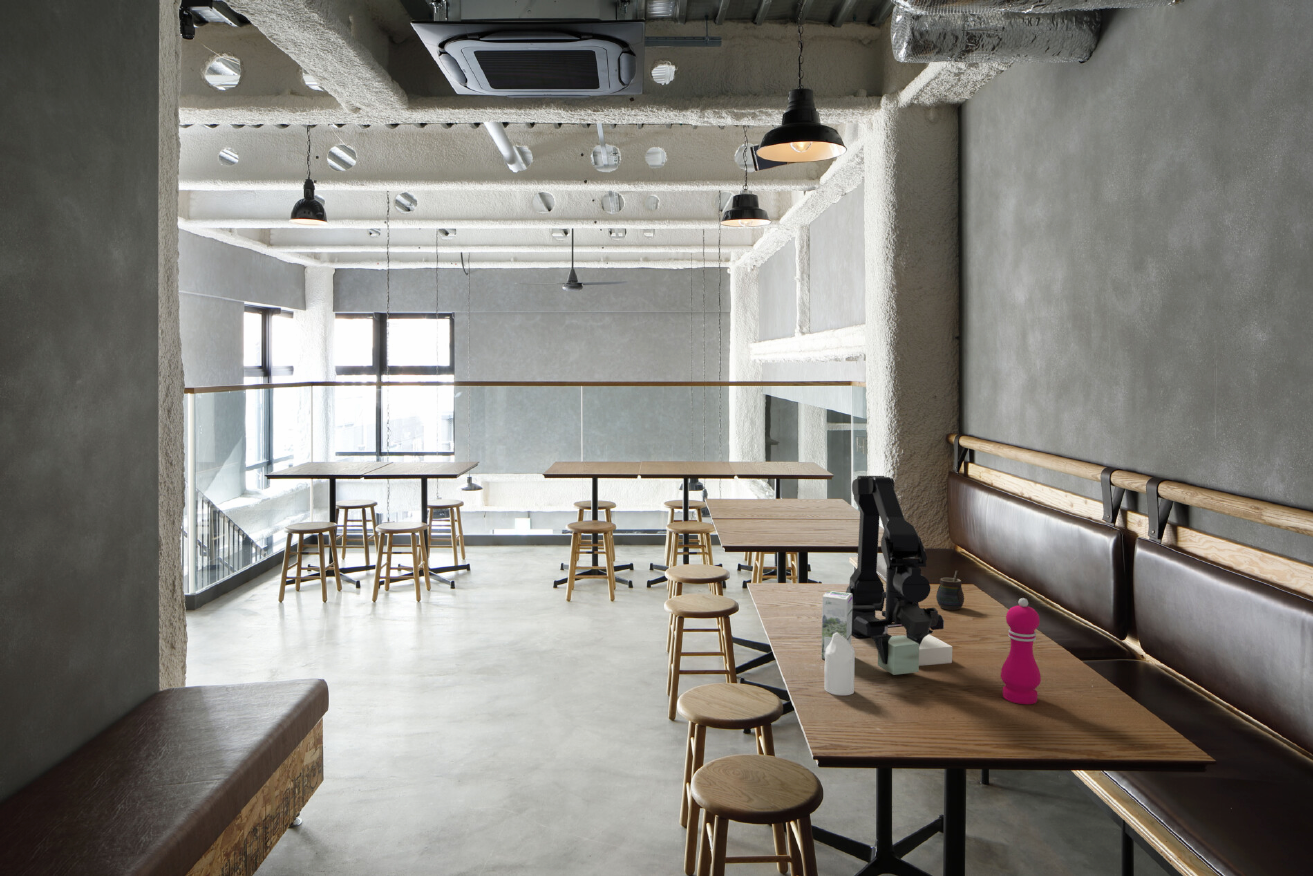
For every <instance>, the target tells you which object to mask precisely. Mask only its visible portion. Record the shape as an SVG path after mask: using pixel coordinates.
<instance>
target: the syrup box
mask: <svg viewBox="0 0 1313 876" xmlns="http://www.w3.org/2000/svg"><path fill="white" fill-rule="evenodd" d="M852 599H853V595H852V593H846V592H843V591H842V592H841V591H835V590H834V591H833V590H827V591H825V593H823V595H822V601H821V602H822V605H821V606H822V609H821V610H822V611H821V612H822V613H821V615H822V616H821V620H822V621H821V624H822V625H821V655H820V656H821V657H820V658H821V659H822V660H825V652H826V648H827V646H828V645H829V644H830V642H831V640H832V636H833V634H835V633H839V634H840V635H841V636H843V637H844V638H845V639H847V641H848V642H849V643H850V644H851V645H852V635H851V631H852Z"/></svg>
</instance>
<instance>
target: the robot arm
mask: <svg viewBox="0 0 1313 876" xmlns="http://www.w3.org/2000/svg"><path fill="white" fill-rule="evenodd" d="M851 491H852V495H853V501H855V503H856V506H857V507H858V509H859V525H858V527H859V528H858V547H857V564H856V565H857V566H856V569H855V571H853V573H852V574H851V576H850V577H849V584H848V586H847V588H846V590H845V593H852V595H853V599H852V631H851V636H852V637H855V638H857V639H862V638H871V639H872V640H873V643H874V644H875V647H876V649H877V653H878V652H879V654H880V657H881V659H882V662H883V663H884V664H887V662H888V641H889V640H890V638H891V637H892V636H893V635H892V634H889V633H888V629H891V628H893V629H894V628H901V627H902V628H904V629H905V632H906V633H905V635H906V636H907V638H908V639H910V640H912V641H914V642H916V643H918V644H919V646H920V644H921V642H922V640H923V638H924V637H925V636H927V635H928V634H930V635H931V634H933V633H934V631H937V630H944V628H945V620H944V618H943V616H942V615H941V614H939V611H938V610H937V609H936V607H926V608H925V607H922V608H921V607H920V605H919V603H922V602H923V601H924V600H926V599H927V598H928V597H929V595H930V594H931V584H930V582H929V579H928V578H927V577H925V575H923V574H922V568H926V567H927V560H928V557H927V554H926V550H925V547H924V542H923V541H922V538H921V536H919V534H918V532H917V530H916V528H915V526H914V525H913V524H911V523H910V522H908V521H907V520H906V519H905V515H904V512H903V511H902V507H901V504H900V501H899V499H898V496H897V492H896V490H895V481H894V478H893V477H890V476H885V475H858V476H857V477H856V478H855V479H854V480H853V481H852V483H851ZM880 520H881V524H882V527H883V532H882V537H881V541H880V548H881V552H882V556H883V558H884V562H885V566H886V575H885V576H886V577H885V578H886V579H885V580H886V581H885V589H884V583H883V581H882V580H881V578H880V576H879V575H878V573H877V571H878V550H879V537H880V536H879V533H880V532H879V531H880ZM884 604H885V605H884ZM884 607H885V610H883V609H884ZM877 612H881V616H882V617H883V618H879V617H876V613H877Z"/></svg>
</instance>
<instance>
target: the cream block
mask: <svg viewBox="0 0 1313 876" xmlns="http://www.w3.org/2000/svg"><path fill="white" fill-rule="evenodd" d="M891 636H892V637H894V636H895V635H891ZM898 636H904V637H906V638H907V636H906V634H901V635H898ZM952 663H953V646H952V645H950V644H948V643H946V642H945V641H943V640H941V639H939V638H938V637H935V636H933V635H931V634H928V635H927V636H925V637H924V638H923V640H922V642H921V644H920V646H919V667H920V666H930V665H943V664H952Z"/></svg>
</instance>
